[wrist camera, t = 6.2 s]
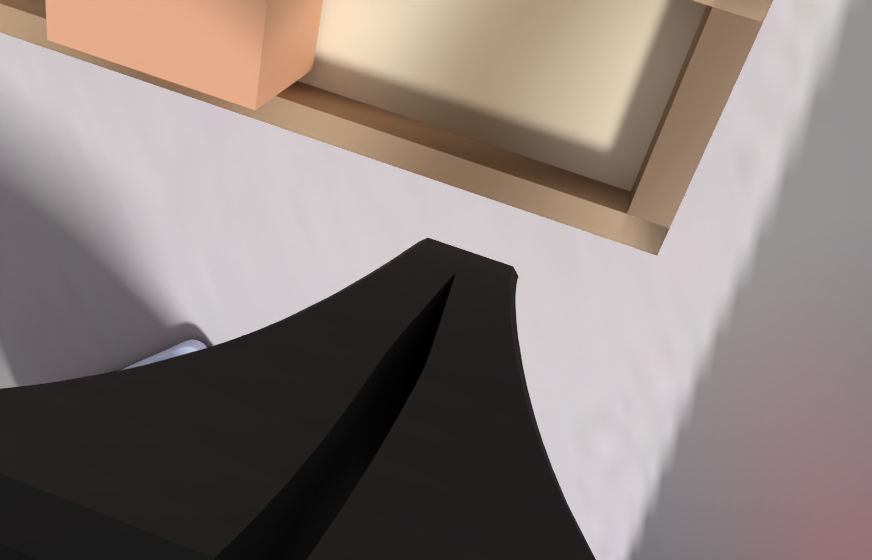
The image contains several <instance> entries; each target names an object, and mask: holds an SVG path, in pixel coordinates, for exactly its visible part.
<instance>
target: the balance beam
mask: <svg viewBox="0 0 872 560" xmlns="http://www.w3.org/2000/svg"><path fill="white" fill-rule="evenodd" d="M772 1H773V0H323V4H322V11H321V17H320V24H319V31H318V38H317V45H316V52H315V58H314V65H313V70H311V71H310V72H308V73H307V74H306V75H304V76H303V77H301V78H300V79H299V80H297V81H296V82H294V83H293V84H292V85H290V86H289V87H287V88H286V89H285V90H283V91H282V92H280V93H279V94H278V95H276V96H275V97H273V98H272V99H271V100H269V101H268V102H266V103H265V104H264V105H262V106H261V107H259V108H258V109H257V110H253V109H250V108H247V107H244V106H241V105H238V104H235V103H232V102H229V101H226V100H223V99H220V98H217V97H214V96H212V95H209V94H206V93H203V92H200V91H197V90H194V89H191V88H188V87H185V86H182V85H179V84H176V83H173V82H170V81H167V80H164V79H161V78H158V77H155V76H152V75H149V74H147V73H144V72H141V71H138V70H135V69H132V68H129V67H126V66H123V65H120V64H117V63H114V62H111V61H108V60H105V59H102V58H99V57H96V56H93V55H90V54H87V53H85V52H82V51H79V50H76V49H73V48H70V47H67V46H64V45H61V44H58V43H55V42H52V41H49V40H47V23H46V0H0V32H1V33H4V34H7V35H10V36H13V37H16V38H19V39H22V40H24V41H27V42H30V43H33V44H36V45H39V46H42V47H45V48H48V49H51V50H54V51H57V52H60V53H63V54H66V55H69V56H72V57H74V58H77V59H80V60H83V61H86V62H89V63H92V64H95V65H98V66H101V67H104V68H107V69H110V70H113V71H116V72H119V73H122V74H125V75H127V76H130V77H133V78H136V79H139V80H142V81H145V82H148V83H151V84H154V85H157V86H160V87H163V88H166V89H169V90H172V91H175V92H178V93H180V94H183V95H186V96H189V97H192V98H195V99H198V100H201V101H204V102H207V103H210V104H213V105H216V106H219V107H222V108H225V109H228V110H230V111H233V112H236V113H239V114H242V115H245V116H248V117H251V118H254V119H257V120H260V121H263V122H266V123H269V124H272V125H275V126H278V127H281V128H283V129H286V130H289V131H292V132H295V133H298V134H301V135H304V136H307V137H310V138H313V139H316V140H319V141H322V142H325V143H328V144H331V145H333V146H336V147H339V148H342V149H345V150H348V151H351V152H354V153H357V154H360V155H363V156H366V157H369V158H372V159H375V160H378V161H381V162H384V163H386V164H389V165H392V166H395V167H398V168H401V169H404V170H407V171H410V172H413V173H416V174H419V175H422V176H425V177H428V178H431V179H434V180H436V181H439V182H442V183H445V184H448V185H451V186H454V187H457V188H460V189H463V190H466V191H469V192H472V193H475V194H478V195H481V196H484V197H487V198H489V199H492V200H495V201H498V202H501V203H504V204H507V205H510V206H513V207H516V208H519V209H522V210H525V211H528V212H531V213H534V214H537V215H540V216H542V217H545V218H548V219H551V220H554V221H557V222H560V223H563V224H566V225H569V226H572V227H575V228H578V229H581V230H584V231H587V232H590V233H592V234H595V235H598V236H601V237H604V238H607V239H610V240H613V241H616V242H619V243H622V244H625V245H628V246H631V247H634V248H637V249H640V250H643V251H645V252H648V253H651V254H654V255H657V254H658V252H659V250H660V248H661V246H662V243H663V241H664V239H665V237H666V235H667V232H668V230H669V228H670V226H671V224H672V221H673V219H674V217H675V215H676V213H677V210H678V208H679V206H680V204H681V202H682V199H683V197H684V195H685V193H686V191H687V188H688V186H689V184H690V182H691V180H692V177H693V175H694V173H695V171H696V169H697V166H698V164H699V162H700V160H701V158H702V155H703V153H704V151H705V149H706V147H707V144H708V142H709V140H710V138H711V136H712V133H713V131H714V129H715V127H716V125H717V122H718V120H719V118H720V116H721V114H722V111H723V109H724V107H725V105H726V103H727V100H728V98H729V96H730V94H731V92H732V89H733V87H734V85H735V83H736V81H737V78H738V76H739V74H740V72H741V70H742V67H743V65H744V63H745V61H746V59H747V56H748V54H749V52H750V50H751V48H752V45H753V43H754V41H755V39H756V37H757V34H758V32H759V30H760V28H761V26H762V23H763V21H764V19H765V17H766V15H767V12H768V10H769V8H770V6H771V4H772Z"/></svg>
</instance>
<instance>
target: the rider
mask: <svg viewBox="0 0 872 560" xmlns="http://www.w3.org/2000/svg"><path fill="white" fill-rule="evenodd" d="M322 4H323V0H46V23H47V40H49V41H52V42H55V43H58V44H61V45H64V46H67V47H70V48H73V49H76V50H79V51H82V52H85V53H87V54H90V55H93V56H96V57H99V58H102V59H105V60H108V61H111V62H114V63H117V64H120V65H123V66H126V67H129V68H132V69H135V70H138V71H141V72H144V73H147V74H149V75H152V76H155V77H158V78H161V79H164V80H167V81H170V82H173V83H176V84H179V85H182V86H185V87H188V88H191V89H194V90H197V91H200V92H203V93H206V94H209V95H212V96H214V97H217V98H220V99H223V100H226V101H229V102H232V103H235V104H238V105H241V106H244V107H247V108H250V109H253V110H257V109H258V108H259V107H261V106H262V105H264V104H265V103H266V102H268V101H269V100H271V99H272V98H273V97H275V96H276V95H278V94H279V93H280V92H282V91H283V90H285V89H286V88H287V87H289V86H290V85H292V84H293V83H294V82H296V81H297V80H299V79H300V78H301V77H303V76H304V75H306V74H307V73H308V72H310V71H311V70H313V65H314V58H315V52H316V45H317V38H318V31H319V24H320V17H321V11H322Z"/></svg>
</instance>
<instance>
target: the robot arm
mask: <svg viewBox="0 0 872 560" xmlns="http://www.w3.org/2000/svg"><path fill="white" fill-rule="evenodd" d="M517 279H518V275H517V273H516V271H515V269H514V267H513V266H510V265H507V264H504V263H501V262H498V261H495V260H492V259H489V258H486V257H483V256H480V255H477V254H474V253H471V252H468V251H466V250H463V249H460V248H457V247H454V246H451V245H448V244H445V243H442V242H439V241H436V240H433V239H430V238H426V239H424V240H422V241H420V242H418V243H416V244H415V245H413V246H412V247H410V248H409V249H407V250H406V251H404V252H403V253H401V254H400V255H398V256H397V257H395V258H394V259H392V260H391V261H389V262H388V263H386V264H385V265H383V266H381V267H380V268H378V269H377V270H375V271H373V272H372V273H370V274H368V275H367V276H365V277H363V278H362V279H360V280H358V281H356V282H355V283H353V284H351V285H349V286H348V287H346V288H344V289H342V290H341V291H339V292H337V293H335V294H334V295H332V296H330V297H328V298H326V299H324V300H322V301H320V302H318V303H316V304H314V305H312V306H310V307H308V308H306V309H304V310H302V311H300V312H298V313H296V314H294V315H292V316H290V317H287V318H285V319H283V320H281V321H279V322H276V323H274V324H272V325H269V326H267V327H265V328H262V329H260V330H257V331H255V332H252V333H249V334H247V335H244V336H241V337H238V338H236V339H233V340H230V341H227V342H224V343H221V344H218V345H215V346H212V347H208V348H207V347H206V346H205V345H204V344H203V343H202V342H200V341H198V340H193V339H192V340H187V341H185V342H183V343H180V344H178V345H176V346H174V347H171V348H169V349H167V350H164V351H162V352H160V353H158V354H155V355H153V356H151V357H149V358H146V359H144V360H142V361H139V362H137V363H135V364H133V365H130V366H128V367H126V368H124V369H121V370H119V371H114V372H109V373H105V374H99V375H93V376H88V377H82V378H77V379H71V380H65V381H59V382H52V383H45V384H39V385H31V386H22V387H13V388H4V389H0V560H596V559H595V557H594V555H593V553H592V551H591V550H590V548H589V546H588V544H587V542H586V540H585V538H584V536H583V534H582V532H581V530H580V528H579V526H578V524H577V522H576V520H575V518H574V516H573V514H572V512H571V510H570V508H569V506H568V504H567V502H566V500H565V497H564V495H563V493H562V490H561V488H560V485H559V483H558V481H557V478H556V476H555V473H554V471H553V469H552V466H551V463H550V461H549V458H548V455H547V452H546V450H545V447H544V444H543V441H542V438H541V435H540V432H539V429H538V426H537V422H536V419H535V416H534V412H533V408H532V404H531V401H530V397H529V393H528V389H527V385H526V380H525V375H524V370H523V365H522V359H521V353H520V347H519V340H518V333H517V324H516V308H515V295H516V284H517Z"/></svg>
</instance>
